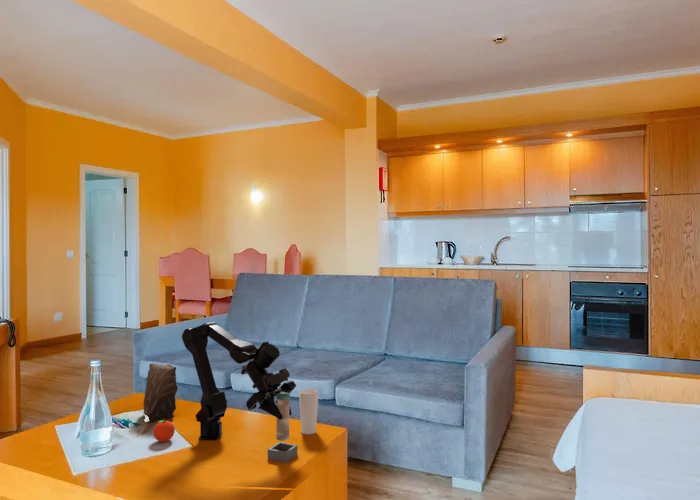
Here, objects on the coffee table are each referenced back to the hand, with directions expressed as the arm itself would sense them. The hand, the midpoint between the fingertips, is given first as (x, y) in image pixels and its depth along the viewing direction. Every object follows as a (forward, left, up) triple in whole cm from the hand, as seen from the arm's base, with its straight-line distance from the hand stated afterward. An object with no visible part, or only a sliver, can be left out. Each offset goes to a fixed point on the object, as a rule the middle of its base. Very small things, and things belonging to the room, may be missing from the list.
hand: (286, 416), depth 160 cm
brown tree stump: (-59, +35, -14) cm, 69 cm away
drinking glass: (+4, +23, -14) cm, 27 cm away
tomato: (-45, +12, -14) cm, 49 cm away
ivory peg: (-1, +1, -7) cm, 7 cm away
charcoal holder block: (-1, +1, -13) cm, 14 cm away
